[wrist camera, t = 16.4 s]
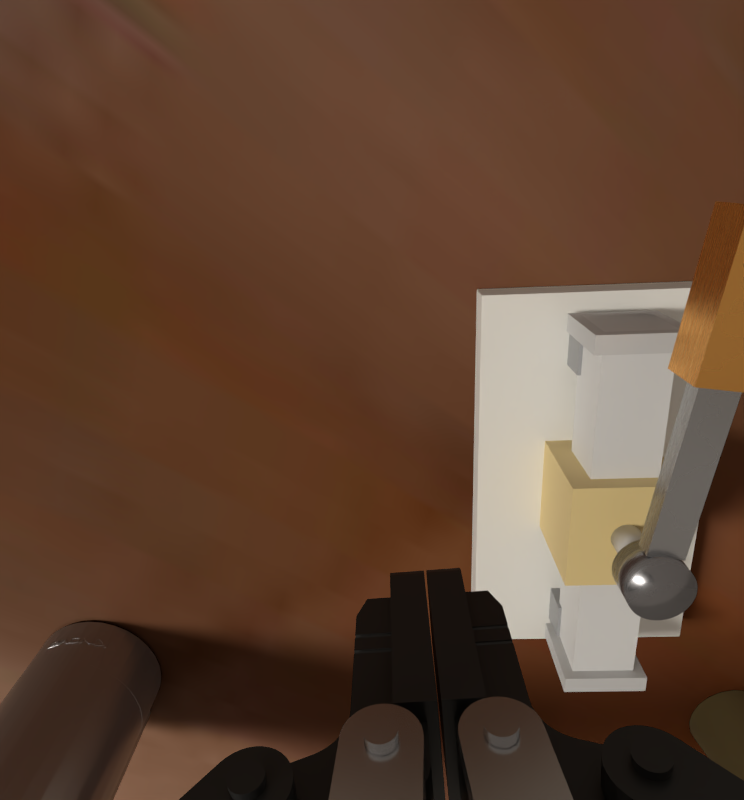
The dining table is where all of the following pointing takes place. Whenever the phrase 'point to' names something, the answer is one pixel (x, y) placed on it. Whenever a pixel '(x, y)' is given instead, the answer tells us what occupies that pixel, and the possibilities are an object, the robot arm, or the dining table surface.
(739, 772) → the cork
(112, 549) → the dining table surface
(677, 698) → the dining table surface
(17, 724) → the robot arm
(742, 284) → the lever
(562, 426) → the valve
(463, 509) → the dining table surface
